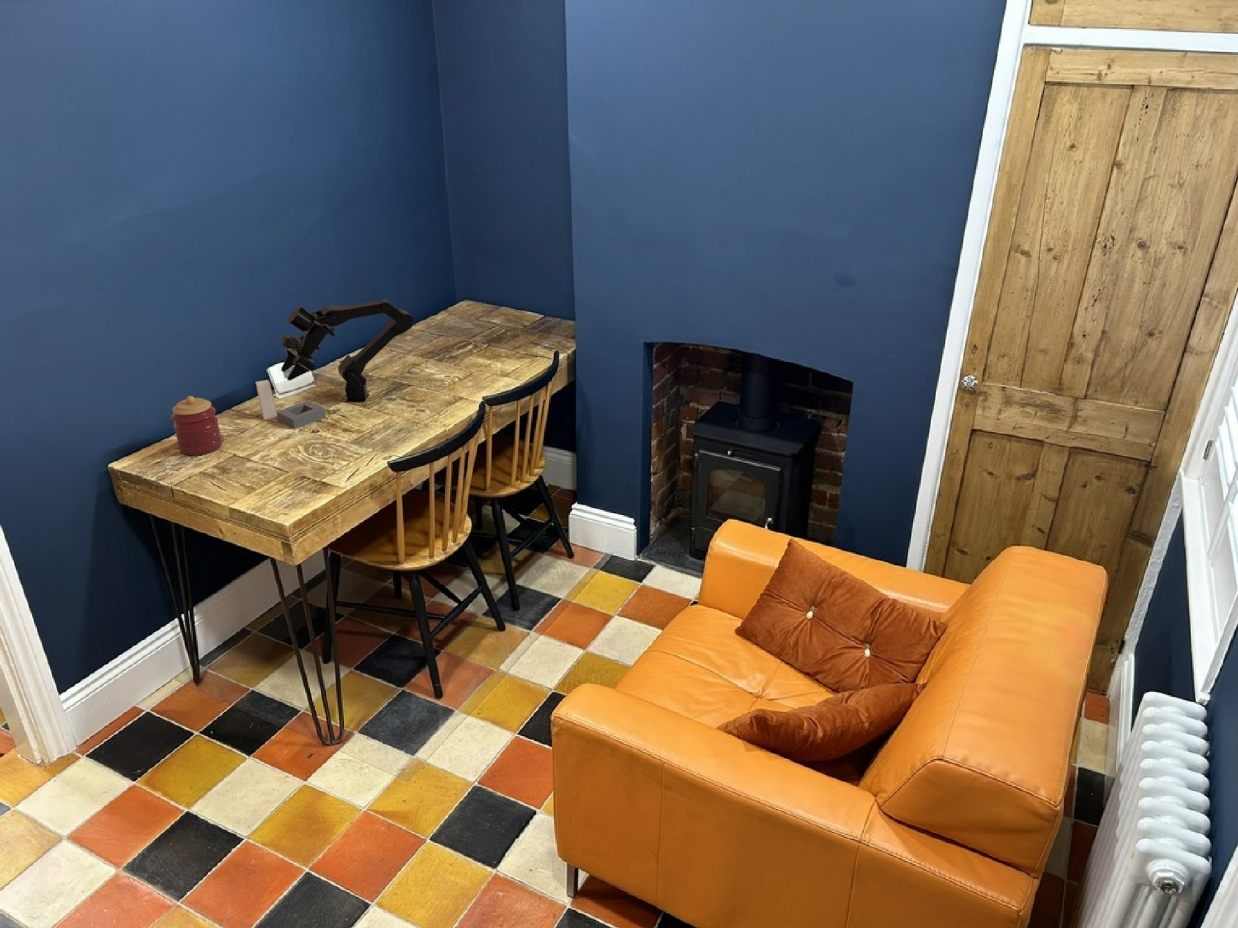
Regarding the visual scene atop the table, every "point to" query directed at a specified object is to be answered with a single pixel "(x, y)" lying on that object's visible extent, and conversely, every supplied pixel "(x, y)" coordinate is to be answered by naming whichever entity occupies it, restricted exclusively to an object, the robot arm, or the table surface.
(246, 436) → the table surface
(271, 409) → the light grey peg
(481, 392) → the table surface
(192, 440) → the canister
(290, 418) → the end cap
